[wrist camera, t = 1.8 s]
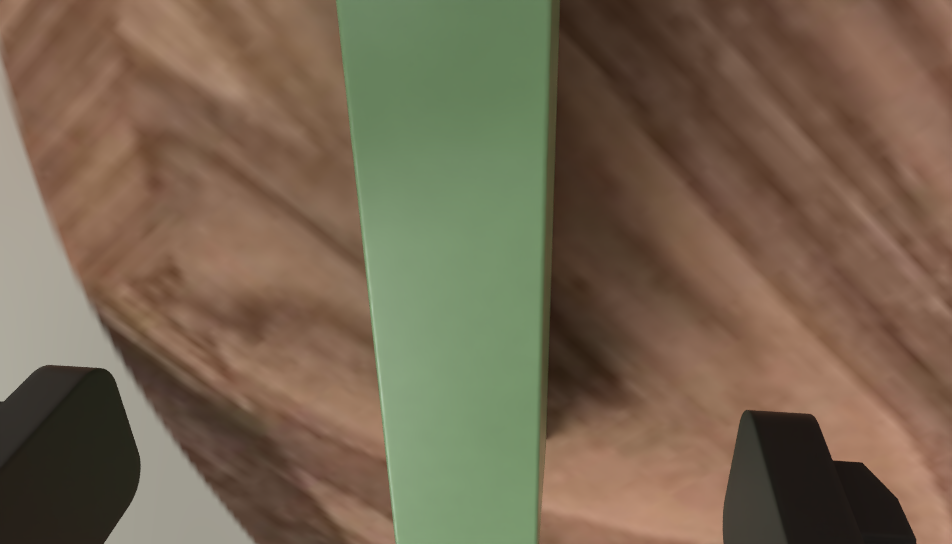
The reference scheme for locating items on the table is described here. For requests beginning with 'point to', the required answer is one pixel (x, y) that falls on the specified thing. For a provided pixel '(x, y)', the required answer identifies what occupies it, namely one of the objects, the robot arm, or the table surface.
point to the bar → (457, 252)
